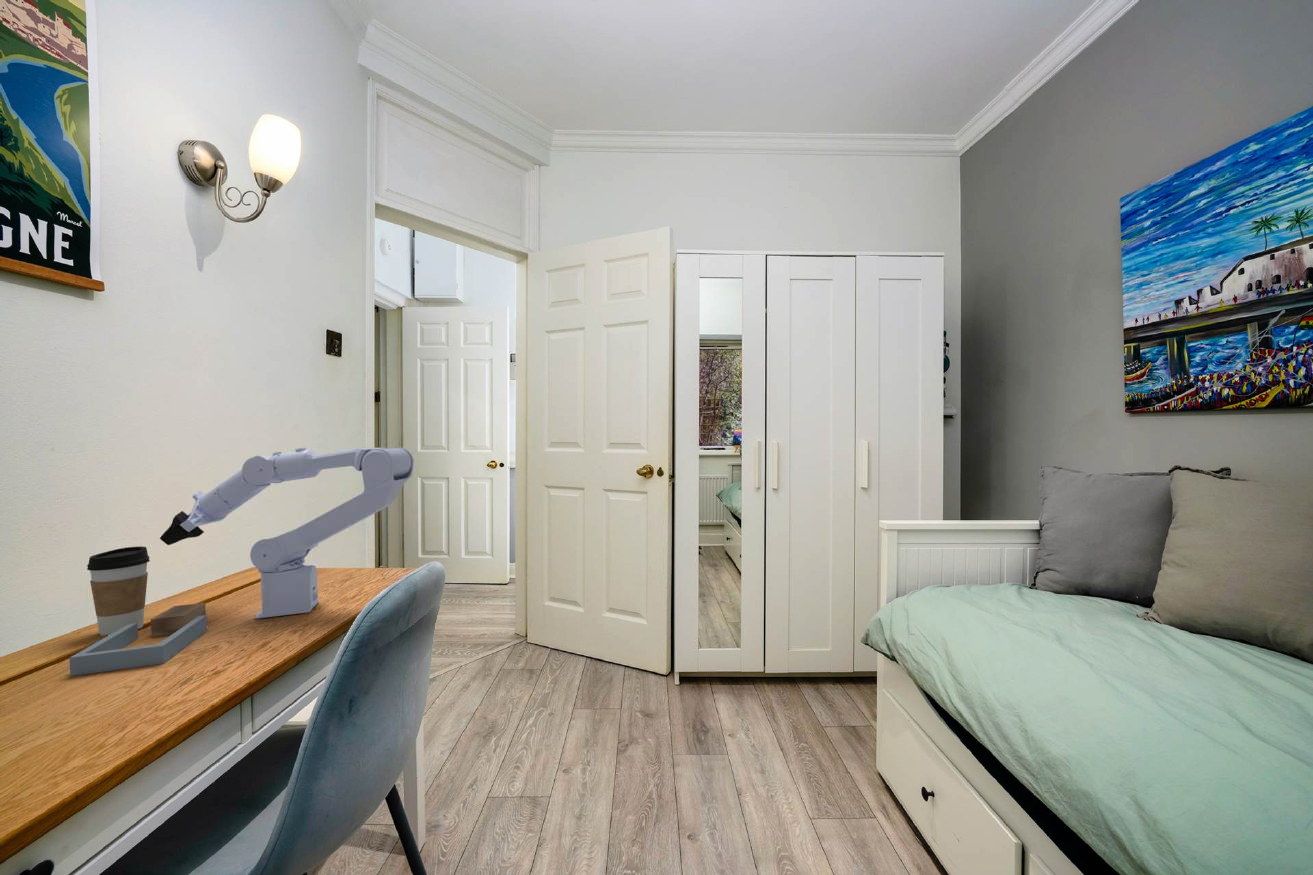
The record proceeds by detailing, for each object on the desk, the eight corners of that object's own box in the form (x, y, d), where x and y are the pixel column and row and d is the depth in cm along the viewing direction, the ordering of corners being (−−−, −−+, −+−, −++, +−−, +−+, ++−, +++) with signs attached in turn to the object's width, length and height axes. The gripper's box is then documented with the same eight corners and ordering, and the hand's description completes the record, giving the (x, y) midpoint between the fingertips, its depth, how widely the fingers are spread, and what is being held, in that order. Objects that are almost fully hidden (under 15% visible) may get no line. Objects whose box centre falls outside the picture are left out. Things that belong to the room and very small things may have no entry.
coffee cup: (164, 622, 105) (161, 545, 105) (117, 638, 97) (114, 556, 97) (125, 621, 106) (123, 546, 106) (75, 638, 98) (72, 556, 98)
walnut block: (205, 620, 107) (205, 602, 107) (185, 634, 99) (184, 615, 99) (174, 623, 105) (174, 605, 105) (151, 638, 98) (150, 619, 98)
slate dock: (207, 629, 100) (206, 615, 100) (164, 663, 86) (163, 645, 86) (129, 639, 97) (128, 623, 97) (70, 675, 82) (69, 657, 82)
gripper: (233, 467, 116) (182, 502, 116) (192, 495, 102) (135, 535, 102) (260, 491, 118) (210, 525, 119) (223, 521, 105) (167, 560, 105)
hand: (177, 531), depth 111 cm, fingers open, 7 cm apart
